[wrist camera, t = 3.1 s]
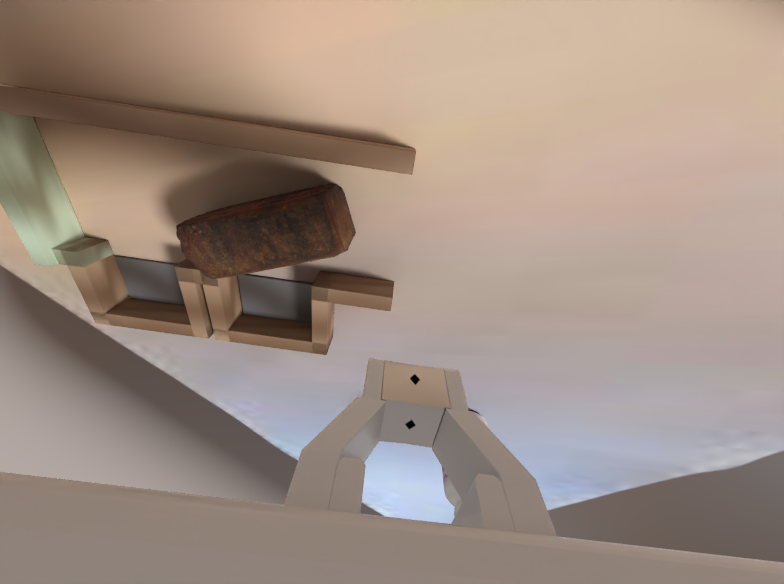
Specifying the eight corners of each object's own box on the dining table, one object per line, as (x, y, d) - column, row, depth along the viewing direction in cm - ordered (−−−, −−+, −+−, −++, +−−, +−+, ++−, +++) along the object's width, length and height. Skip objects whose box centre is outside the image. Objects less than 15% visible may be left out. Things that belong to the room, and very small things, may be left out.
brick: (341, 177, 20) (323, 191, 16) (357, 232, 22) (345, 257, 18) (206, 209, 21) (159, 229, 17) (232, 258, 23) (195, 286, 19)
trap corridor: (0, 84, 18) (-70, 77, 15) (415, 148, 18) (416, 153, 16) (101, 303, 26) (67, 323, 24) (384, 343, 27) (381, 366, 24)
